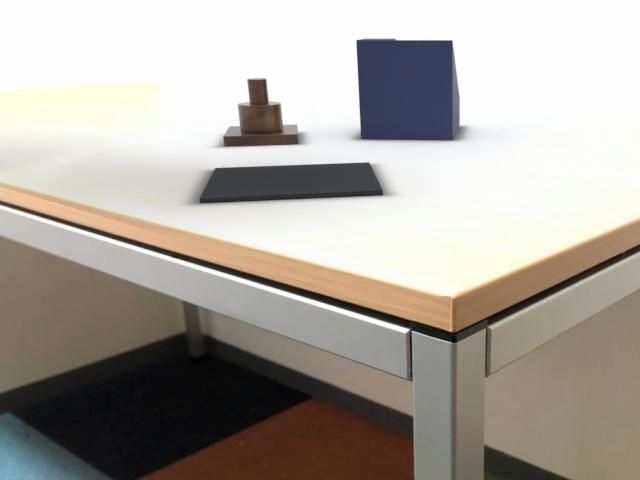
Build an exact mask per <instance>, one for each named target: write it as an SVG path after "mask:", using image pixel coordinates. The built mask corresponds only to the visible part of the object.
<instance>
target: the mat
mask: <svg viewBox="0 0 640 480" xmlns="http://www.w3.org/2000/svg"><path fill="white" fill-rule="evenodd" d="M371 165H372V164H371V163H370V161H367V162H366V161H365V162H342V163H341V162H339V163H338V162H337V163H316V164H315V163H314V164H313V163H311V164H287V165H286V164H285V165H261V166H259V165H258V166H234V167H233V166H232V167H231V166H230V167H229V166H228V167H215V168H214V169H213V172H212V173H211V175H210V177H209V179H208V181H207V183H206V185H205V187H204V189H203V190H202V193H201V195H200V196H199V203H221V202H222V203H223V202H244V201H265V200H267V201H268V200H290V199H312V198H314V199H315V198H333V197H334V198H335V197H356V196H378V195H380V196H381V195H384V190H383V188H382V186H381V184H380V182H379V179H378V177H377V176H376V174H375V172H374V169H373V168H372V166H371Z"/></svg>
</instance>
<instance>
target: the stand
mask: <svg viewBox="0 0 640 480" xmlns="http://www.w3.org/2000/svg"><path fill="white" fill-rule="evenodd" d="M246 82H247V91H248V99H249V101H244V102H239V103H237V111H238V120H239V125H232V126H231V125H230V126H228V128H227V130H226V131H225V132H224V135H223V136H222V139H223V145H224V147H237V146H238V147H240V146H244V147H245V146H272V145H273V146H275V145H276V146H277V145H298V144H299V129H298V124H284V123H283V121H284V120H283V111H282V103H281V102H279V101H271V100H269V90H268V89H269V88H268V79H267V78H265V77H256V78H255V77H253V78H247V79H246Z"/></svg>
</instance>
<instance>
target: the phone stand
mask: <svg viewBox="0 0 640 480" xmlns="http://www.w3.org/2000/svg"><path fill="white" fill-rule="evenodd" d="M355 42H356V43H355V45H356V60H357V61H356V62H357V63H356V65H357V83H358V84H357V86H358V103H359V104H358V106H359V124H360V127H359V128H360V140H410V141H411V140H412V141H413V140H415V141H416V140H417V141H422V140H423V141H453V140H454V138H455V137H456V134H457V133H458V131H459V129H460V125H461V123H460V122H461V120H460V117H461V116H460V115H461V114H460V113H461V110H460V109H461V105H460V104H461V103H460V102H461V101H460V100H461V99H460V98H461V97H460V90H459V82H458V81H459V80H458V75H457V74H458V73H457V66H456V58H455V57H456V56H455V49H454V42H453V40H452V39H451V40H449V39H437V40H436V39H429V40H428V39H396V38H361V39H356V41H355Z"/></svg>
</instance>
